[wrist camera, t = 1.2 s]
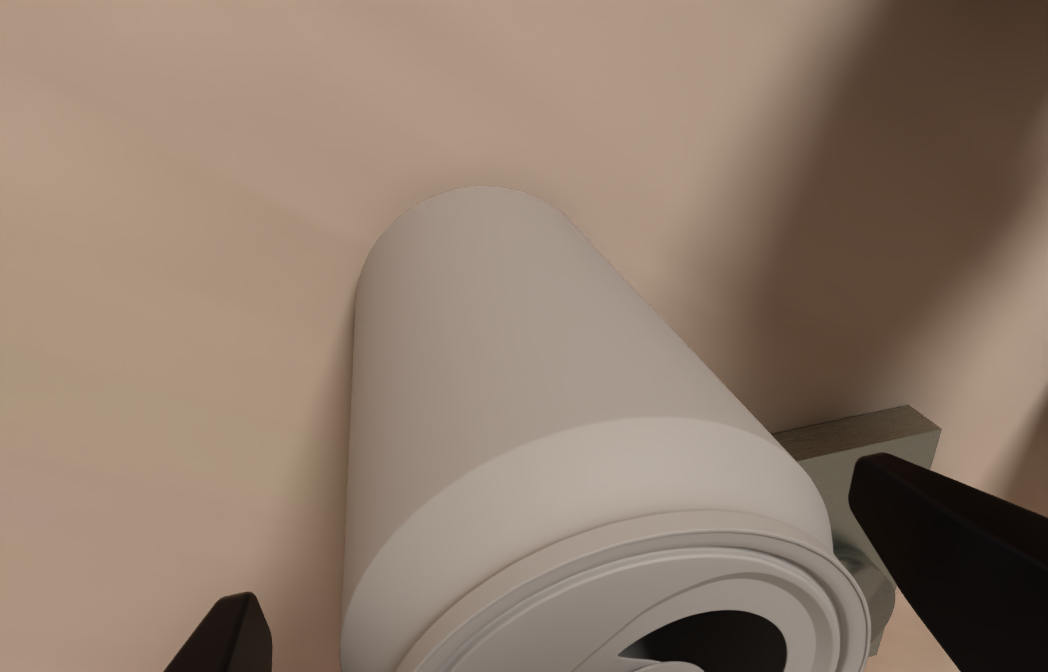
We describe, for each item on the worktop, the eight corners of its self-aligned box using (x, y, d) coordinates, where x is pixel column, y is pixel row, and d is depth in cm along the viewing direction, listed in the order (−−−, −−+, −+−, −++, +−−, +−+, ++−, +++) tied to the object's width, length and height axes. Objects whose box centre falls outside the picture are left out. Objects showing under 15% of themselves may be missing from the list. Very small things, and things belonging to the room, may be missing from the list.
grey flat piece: (909, 405, 23) (978, 456, 20) (853, 625, 29) (902, 687, 26) (471, 498, 20) (486, 570, 18) (505, 718, 26) (521, 797, 23)
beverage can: (624, 322, 19) (950, 720, 8) (438, 432, 19) (525, 947, 9) (523, 128, 15) (843, 374, 5) (302, 263, 16) (177, 757, 5)
